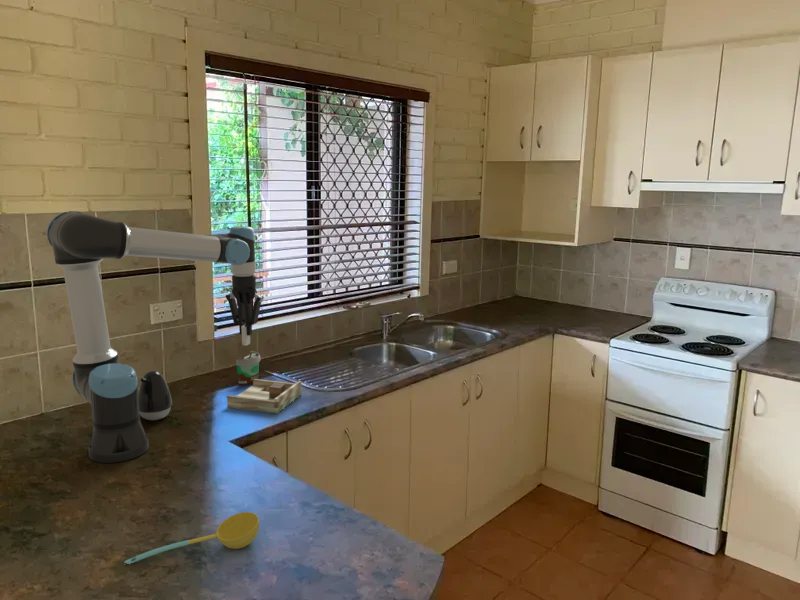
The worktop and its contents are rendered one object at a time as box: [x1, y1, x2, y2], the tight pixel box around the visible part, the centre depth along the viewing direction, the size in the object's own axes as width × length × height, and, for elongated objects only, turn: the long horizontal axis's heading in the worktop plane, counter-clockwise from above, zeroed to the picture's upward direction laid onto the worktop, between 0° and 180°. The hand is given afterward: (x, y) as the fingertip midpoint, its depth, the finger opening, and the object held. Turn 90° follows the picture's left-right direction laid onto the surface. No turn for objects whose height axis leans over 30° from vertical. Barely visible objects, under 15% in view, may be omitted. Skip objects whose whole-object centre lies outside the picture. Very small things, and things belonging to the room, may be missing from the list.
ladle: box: [124, 511, 260, 565], centre depth 126 cm, size 9×26×6 cm, turn 109°
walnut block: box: [269, 383, 286, 399], centre depth 206 cm, size 4×4×4 cm
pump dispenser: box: [138, 370, 173, 421], centre depth 192 cm, size 10×10×15 cm
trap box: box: [226, 378, 302, 415], centre depth 208 cm, size 18×18×5 cm
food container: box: [235, 350, 262, 387], centre depth 226 cm, size 12×6×10 cm, turn 168°
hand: (246, 344), depth 206 cm, fingers closed
